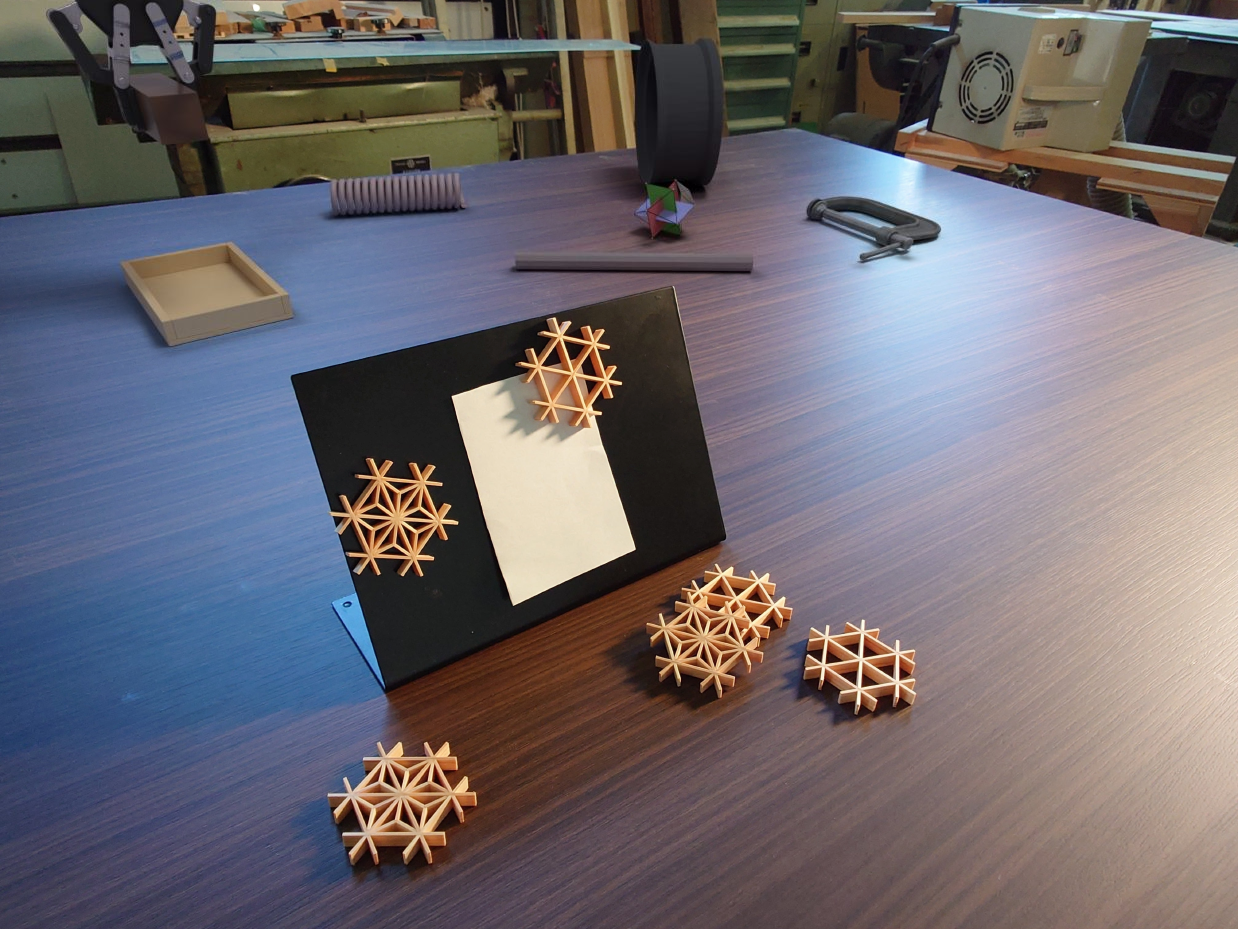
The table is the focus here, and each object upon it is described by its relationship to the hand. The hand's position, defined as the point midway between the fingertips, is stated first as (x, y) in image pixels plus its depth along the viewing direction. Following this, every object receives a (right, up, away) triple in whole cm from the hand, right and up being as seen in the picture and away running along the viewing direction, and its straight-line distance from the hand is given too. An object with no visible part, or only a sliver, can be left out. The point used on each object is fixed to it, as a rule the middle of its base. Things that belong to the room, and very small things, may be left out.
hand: (166, 126), depth 77 cm
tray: (0, -15, +7) cm, 17 cm away
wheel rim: (+52, +11, +47) cm, 71 cm away
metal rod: (+45, -10, +16) cm, 49 cm away
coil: (+13, +2, +34) cm, 37 cm away
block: (0, 0, 0) cm, 0 cm away
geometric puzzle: (+49, -3, +27) cm, 56 cm away
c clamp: (+76, -2, +29) cm, 81 cm away
